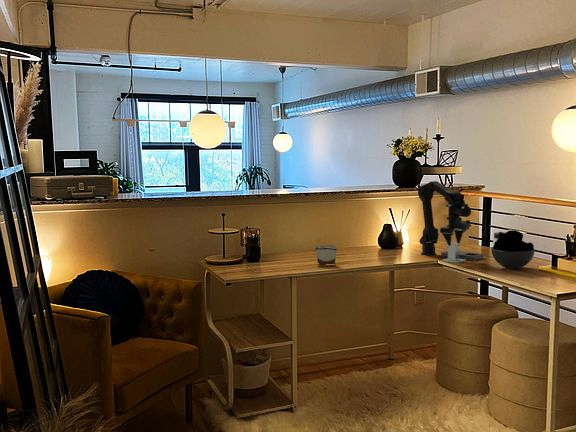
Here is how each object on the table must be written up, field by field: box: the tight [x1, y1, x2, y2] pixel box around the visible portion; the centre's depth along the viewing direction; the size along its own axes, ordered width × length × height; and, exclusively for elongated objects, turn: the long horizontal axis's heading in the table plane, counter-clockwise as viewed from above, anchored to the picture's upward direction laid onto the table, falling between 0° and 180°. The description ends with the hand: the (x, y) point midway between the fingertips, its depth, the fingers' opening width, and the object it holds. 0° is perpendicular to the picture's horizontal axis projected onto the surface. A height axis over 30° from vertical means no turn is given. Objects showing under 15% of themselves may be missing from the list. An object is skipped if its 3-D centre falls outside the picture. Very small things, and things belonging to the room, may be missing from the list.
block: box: [445, 241, 459, 253], centre depth 315 cm, size 4×4×8 cm
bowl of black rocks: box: [490, 229, 536, 270], centre depth 278 cm, size 20×20×19 cm
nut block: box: [448, 244, 461, 261], centre depth 303 cm, size 4×4×8 cm
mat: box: [441, 258, 467, 264], centre depth 304 cm, size 10×8×1 cm
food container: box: [314, 244, 338, 265], centre depth 304 cm, size 12×6×10 cm, turn 71°
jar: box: [492, 231, 506, 247], centre depth 317 cm, size 9×8×12 cm
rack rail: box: [440, 250, 484, 262], centre depth 311 cm, size 20×10×2 cm, turn 43°
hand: (454, 244), depth 303 cm, fingers open, 9 cm apart
